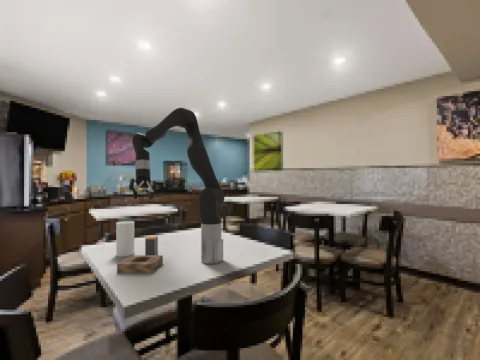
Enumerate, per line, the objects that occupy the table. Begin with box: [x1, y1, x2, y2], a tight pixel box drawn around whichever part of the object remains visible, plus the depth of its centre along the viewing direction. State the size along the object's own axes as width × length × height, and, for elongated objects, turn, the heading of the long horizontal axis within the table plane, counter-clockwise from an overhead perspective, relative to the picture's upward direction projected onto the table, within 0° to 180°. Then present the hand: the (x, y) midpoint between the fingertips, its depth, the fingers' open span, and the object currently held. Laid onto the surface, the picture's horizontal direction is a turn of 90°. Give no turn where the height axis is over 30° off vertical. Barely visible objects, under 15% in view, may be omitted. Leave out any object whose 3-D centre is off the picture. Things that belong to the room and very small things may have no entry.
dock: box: [116, 254, 164, 274], centre depth 104 cm, size 14×12×4 cm
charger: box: [144, 235, 159, 255], centre depth 121 cm, size 4×4×10 cm
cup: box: [115, 220, 135, 257], centre depth 125 cm, size 8×8×16 cm
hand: (143, 199), depth 130 cm, fingers open, 8 cm apart
